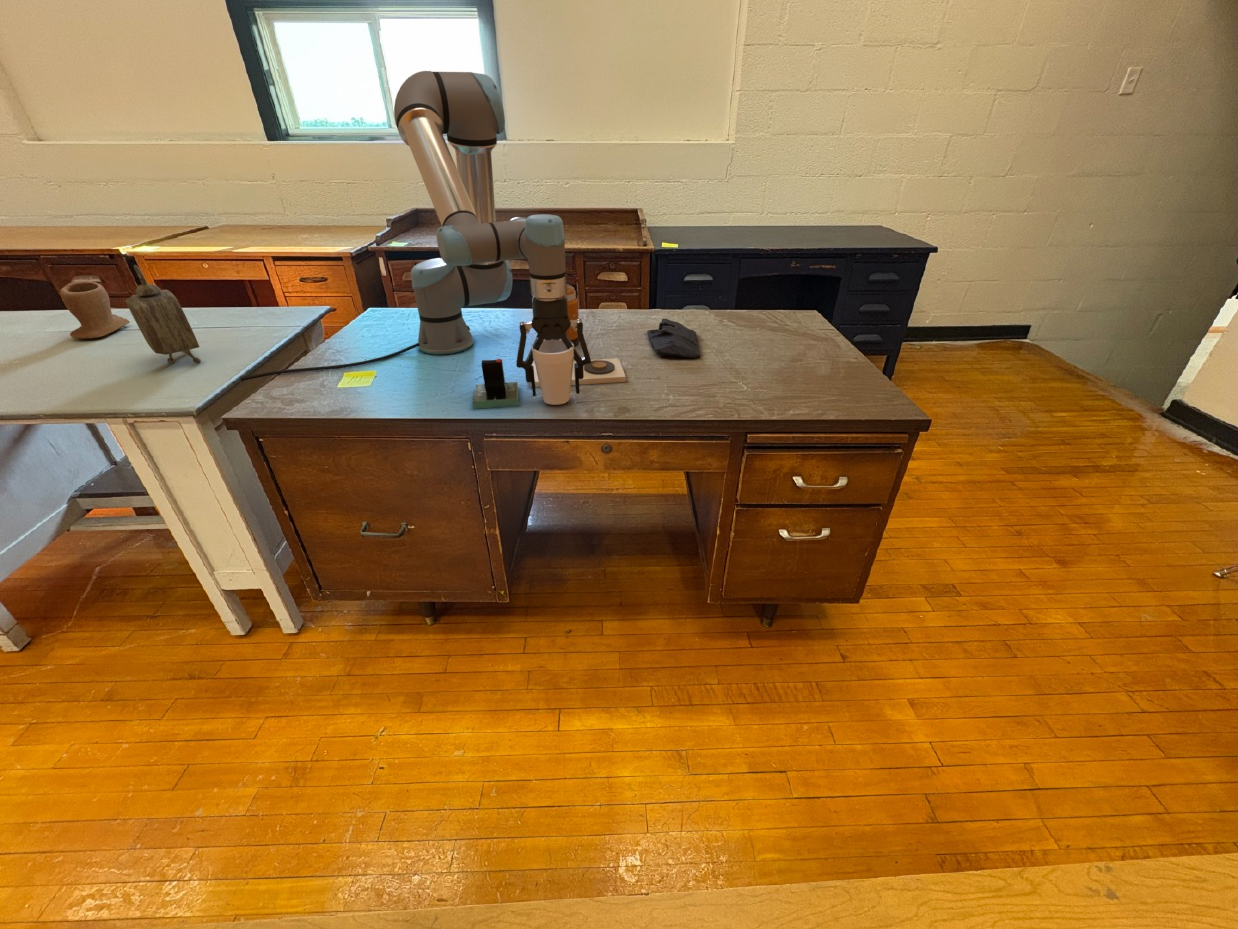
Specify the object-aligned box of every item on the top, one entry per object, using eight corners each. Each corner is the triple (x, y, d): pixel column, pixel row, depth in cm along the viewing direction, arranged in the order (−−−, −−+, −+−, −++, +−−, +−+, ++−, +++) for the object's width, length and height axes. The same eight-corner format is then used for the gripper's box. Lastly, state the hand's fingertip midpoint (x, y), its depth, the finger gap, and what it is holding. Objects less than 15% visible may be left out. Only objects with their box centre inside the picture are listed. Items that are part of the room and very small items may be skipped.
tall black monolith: (485, 393, 122) (481, 362, 118) (486, 390, 123) (481, 359, 119) (505, 392, 123) (501, 361, 118) (505, 388, 124) (502, 358, 120)
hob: (530, 387, 129) (529, 378, 128) (530, 368, 139) (529, 359, 138) (625, 381, 132) (625, 372, 131) (618, 363, 142) (618, 354, 141)
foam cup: (544, 411, 118) (539, 357, 111) (530, 394, 125) (525, 342, 117) (582, 402, 122) (580, 349, 114) (567, 386, 128) (564, 336, 121)
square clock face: (474, 409, 120) (472, 400, 119) (477, 391, 127) (475, 383, 126) (518, 406, 121) (517, 397, 120) (518, 389, 128) (517, 381, 127)
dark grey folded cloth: (647, 359, 145) (648, 342, 142) (647, 331, 163) (647, 316, 160) (702, 360, 144) (704, 343, 142) (696, 332, 162) (697, 317, 160)
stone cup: (107, 341, 153) (77, 290, 145) (66, 341, 153) (34, 289, 145) (145, 324, 166) (120, 275, 157) (107, 324, 166) (80, 275, 157)
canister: (581, 338, 158) (579, 270, 146) (575, 352, 149) (572, 280, 137) (552, 337, 158) (547, 269, 147) (544, 350, 149) (539, 279, 138)
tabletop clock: (208, 363, 140) (162, 267, 126) (167, 373, 135) (115, 274, 121) (193, 349, 149) (149, 257, 135) (154, 358, 143) (104, 263, 129)
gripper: (495, 303, 105) (508, 402, 118) (603, 299, 108) (604, 396, 121) (496, 293, 111) (508, 388, 124) (599, 289, 114) (600, 382, 127)
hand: (555, 392), depth 122 cm, fingers closed on foam cup, 9 cm apart
